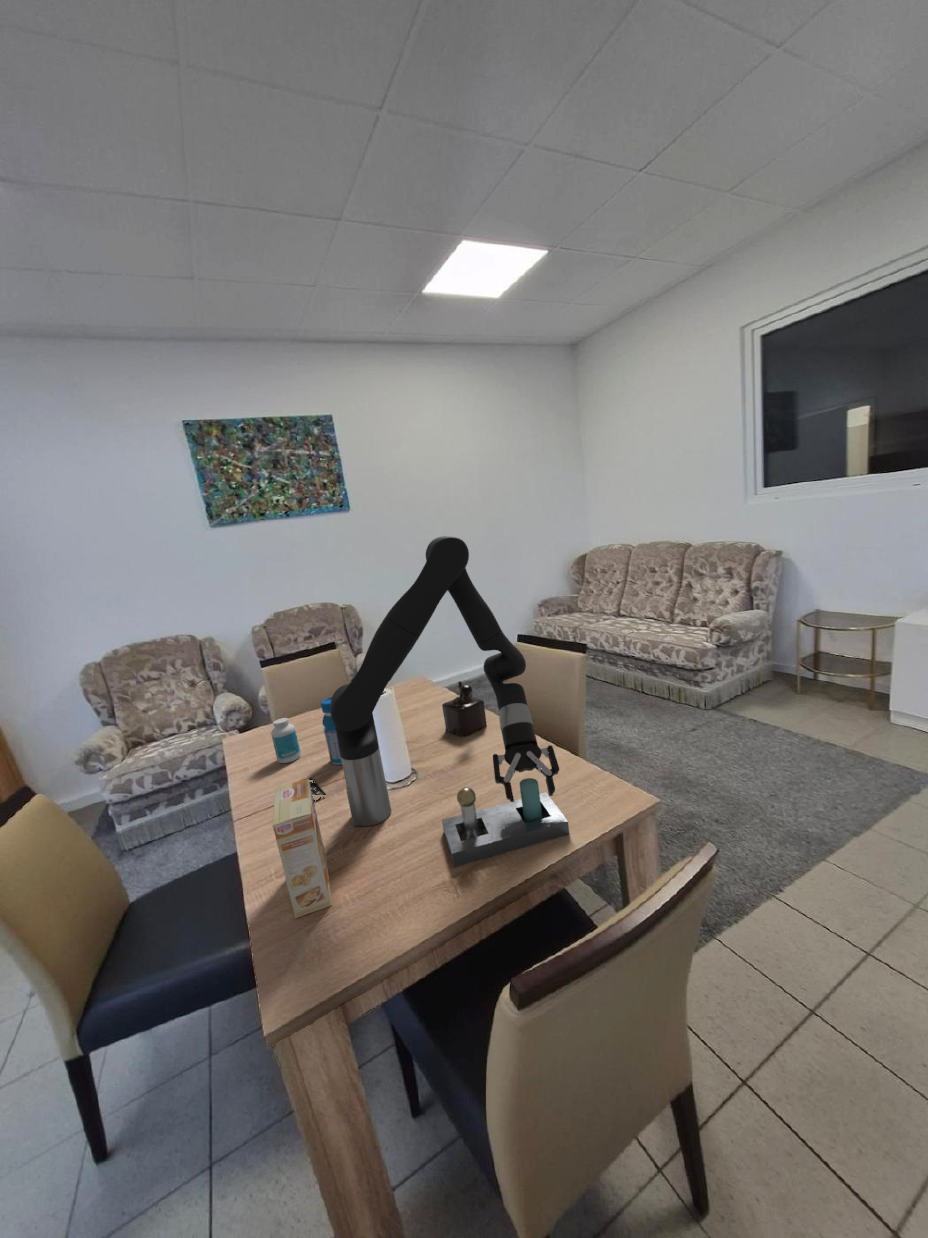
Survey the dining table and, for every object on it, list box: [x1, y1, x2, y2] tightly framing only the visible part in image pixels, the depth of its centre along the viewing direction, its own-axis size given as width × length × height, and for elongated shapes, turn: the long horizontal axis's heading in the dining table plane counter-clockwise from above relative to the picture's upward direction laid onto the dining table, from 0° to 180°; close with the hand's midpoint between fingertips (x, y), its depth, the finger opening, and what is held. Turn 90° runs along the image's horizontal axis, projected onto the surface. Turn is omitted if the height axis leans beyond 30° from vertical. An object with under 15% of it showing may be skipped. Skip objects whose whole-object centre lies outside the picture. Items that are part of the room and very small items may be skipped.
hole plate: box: [441, 786, 570, 868], centre depth 102 cm, size 25×12×12 cm, turn 103°
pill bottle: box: [270, 717, 302, 764], centre depth 156 cm, size 8×7×14 cm
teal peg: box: [519, 777, 543, 823], centre depth 104 cm, size 4×4×10 cm
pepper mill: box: [441, 681, 488, 737], centre depth 157 cm, size 16×11×18 cm
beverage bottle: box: [320, 696, 342, 766], centre depth 149 cm, size 8×8×20 cm
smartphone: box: [307, 777, 327, 802], centre depth 134 cm, size 7×1×15 cm
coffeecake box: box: [271, 778, 333, 920], centre depth 94 cm, size 15×7×20 cm, turn 20°
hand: (531, 798), depth 102 cm, fingers open, 8 cm apart
